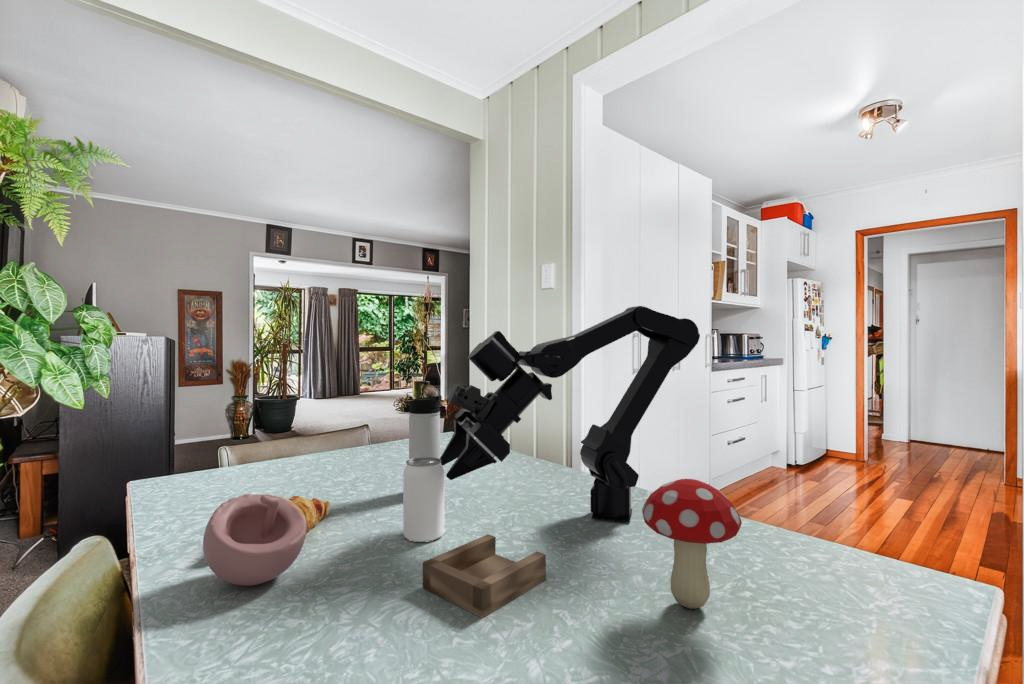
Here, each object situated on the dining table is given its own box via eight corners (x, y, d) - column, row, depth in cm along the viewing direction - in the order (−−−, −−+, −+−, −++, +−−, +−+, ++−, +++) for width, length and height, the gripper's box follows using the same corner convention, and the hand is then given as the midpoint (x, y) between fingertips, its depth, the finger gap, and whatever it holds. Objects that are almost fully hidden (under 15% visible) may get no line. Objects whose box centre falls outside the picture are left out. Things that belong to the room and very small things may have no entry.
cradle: (487, 556, 73) (487, 534, 73) (545, 579, 66) (545, 554, 66) (422, 588, 64) (422, 562, 64) (482, 618, 57) (482, 589, 57)
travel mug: (435, 498, 99) (435, 397, 99) (404, 496, 100) (403, 397, 100) (445, 489, 105) (445, 394, 105) (416, 487, 107) (416, 393, 106)
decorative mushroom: (647, 577, 66) (648, 464, 66) (739, 593, 62) (740, 473, 62) (634, 621, 56) (634, 487, 56) (743, 644, 52) (744, 499, 52)
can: (451, 530, 83) (450, 458, 83) (432, 546, 77) (432, 467, 77) (416, 525, 85) (416, 455, 85) (395, 540, 79) (395, 464, 79)
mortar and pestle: (240, 614, 58) (240, 515, 58) (183, 589, 64) (182, 499, 63) (325, 572, 68) (325, 488, 68) (269, 553, 74) (269, 476, 74)
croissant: (316, 532, 91) (301, 490, 93) (355, 512, 88) (339, 470, 90) (204, 581, 72) (188, 527, 74) (248, 558, 69) (230, 503, 70)
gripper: (466, 364, 92) (404, 427, 89) (489, 370, 74) (413, 449, 71) (507, 406, 94) (448, 468, 91) (540, 422, 76) (467, 500, 73)
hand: (444, 470), depth 81 cm, fingers open, 9 cm apart
